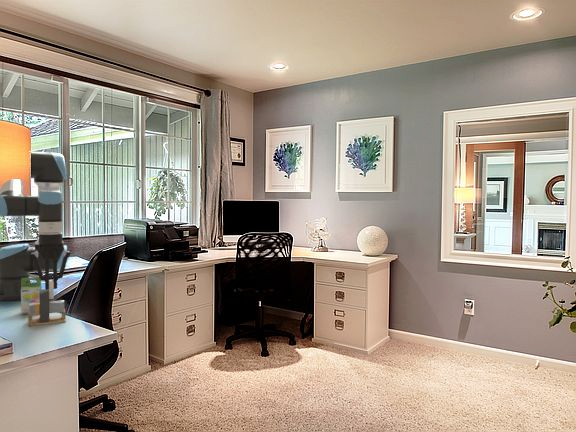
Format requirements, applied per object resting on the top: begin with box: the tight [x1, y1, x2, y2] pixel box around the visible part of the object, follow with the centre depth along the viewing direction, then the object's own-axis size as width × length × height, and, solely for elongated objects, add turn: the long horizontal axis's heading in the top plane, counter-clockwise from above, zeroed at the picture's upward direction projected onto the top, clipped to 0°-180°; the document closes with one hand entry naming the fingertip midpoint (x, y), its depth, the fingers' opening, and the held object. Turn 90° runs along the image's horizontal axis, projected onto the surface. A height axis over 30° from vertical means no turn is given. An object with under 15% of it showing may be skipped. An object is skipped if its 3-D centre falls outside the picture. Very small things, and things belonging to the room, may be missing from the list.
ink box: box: [20, 276, 42, 315], centre depth 168 cm, size 7×4×13 cm, turn 120°
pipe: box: [28, 299, 66, 317], centre depth 157 cm, size 4×11×4 cm, turn 120°
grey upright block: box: [39, 288, 50, 322], centre depth 156 cm, size 8×3×10 cm, turn 30°
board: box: [27, 308, 67, 327], centre depth 157 cm, size 8×12×3 cm
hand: (51, 298), depth 157 cm, fingers closed
